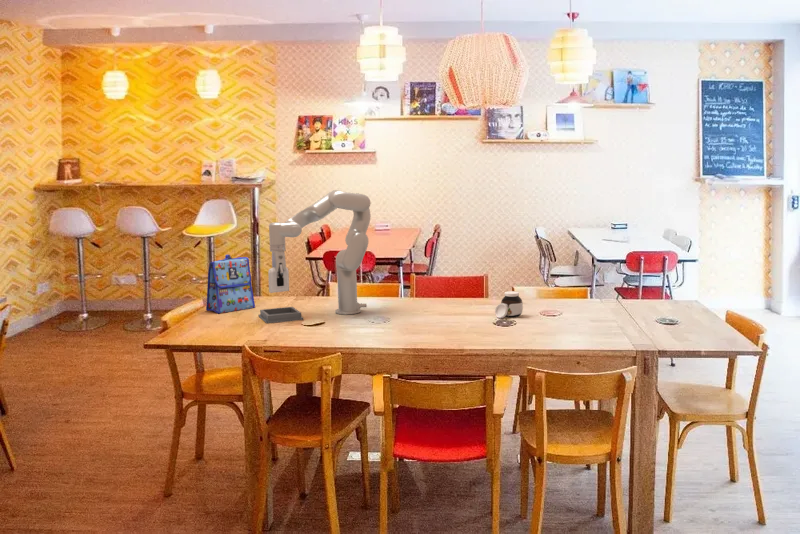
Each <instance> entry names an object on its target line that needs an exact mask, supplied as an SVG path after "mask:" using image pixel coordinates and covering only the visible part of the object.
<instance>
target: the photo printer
mask: <svg viewBox="0 0 800 534" xmlns="http://www.w3.org/2000/svg"><path fill="white" fill-rule="evenodd" d="M278 271H280V270H278ZM289 272H290V271H289V268H288V267H287V266H286V271H284V269H283V276H284V286H277V278H278V277H277V272H276V271H275V268H274V267H273V268H272V267H271V268H268V271H267V273H268V293H270V294H273V293H283V292H289V291H290V273H289Z"/></svg>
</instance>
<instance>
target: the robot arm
mask: <svg viewBox="0 0 800 534" xmlns="http://www.w3.org/2000/svg"><path fill="white" fill-rule="evenodd" d="M371 203H372V202H371V199H370V198H369V196H367V195H365V194H363V193H359V192H358V193H357V192H356V193H355V192H347V191H342V190H339V189H338V190H337V189H334V190H331V191H329V192H328V193H326V194H324V195H323V196H322V197H321V198H320V199H318V200H317V201H315V202H314V203H312V204H311V205H308V207H306V208H304V209H303V210H300V211H299V212H297V213H296V214H295V215H293V216H291V217H290V218H289V219H287V220H286V221H285V222H284V223H283V222H281V221H276V222H275V221H274V222H270V223H269V225H268V233H269V234H268V236H269V252H271V268H273V267H274V268H275V271H276V272H277V277H278V278H277V286H284V276H283V269H284V271H286V267H287V263H286V255H285V254H286V253H285V252H286V238H296V237H299V236H300V235H301V234H302V231H303V230H302V229H303V228H304V227H306V226H308V225H310V224H311V223H315V222H316V223H317V222H319V221H321V220H323V219H324V218H326V217H327V216H328V215H329V214H331V213H332V212H334V211H336V210H337V209H340V210H346V211H352V213H353V216H352V221H351V223H350V226H349V229H348V231H347V233H346V236H345V239H344V241H345V244H346V245H347V247H346V249H342V250H340V251H339V252H338V253H337V254H336V257H335V268H336V274H337V275H336V276H337V300H338V301H337V303H338V304H337V306H338V307H337V309H335V311H334V312H335V314H338V315H355V314H356V315H357V314H359V313H361V312H362V311H361V308H364V309H365V308H367V307H368V305H367V303H359V302H358V285H357V284H358V283H357V282H358V281H357V279H358V278H357V277H358V276H357V269H359V267H360V266H361V264H362V262H363V260H364V257H365V254H366V251H367V249H368V248H369V247H368V246H369V236H368V235H367V232H368V228H369V226H370V221H371V217H372V216H371V215H372V214H371V209H370V207H371ZM278 270H280V271H278Z"/></svg>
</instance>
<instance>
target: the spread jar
mask: <svg viewBox="0 0 800 534" xmlns="http://www.w3.org/2000/svg"><path fill="white" fill-rule="evenodd" d="M523 305H524V304H523V300H522V298H521V296H520V292H519V291H513V290H510V291H508V290H507V291H505V292H504V297H503V298H502V299H501V301H500V303H499V304H497V305H496V307H495V310H494V313H495V316H496V317H497V318H499V319H503V318H510V319H513V318H514V319H515V318H519V317H520V316H521V315H522V314H523V309H524V308H523V307H524V306H523Z"/></svg>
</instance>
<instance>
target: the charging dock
mask: <svg viewBox="0 0 800 534" xmlns="http://www.w3.org/2000/svg"><path fill="white" fill-rule="evenodd" d="M259 310H260V311H259V314H258V318H259V319H261V320H262V321H263V322H264V323H266V324H268V325H269V324H277V323H285V322H286V323H287V322H295V321H297V322H298V321H304V317H303V316H302V312H301V311H299V310H298V309H297V308H295V307H294V306H286V307H274V308H264V309H259Z"/></svg>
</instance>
